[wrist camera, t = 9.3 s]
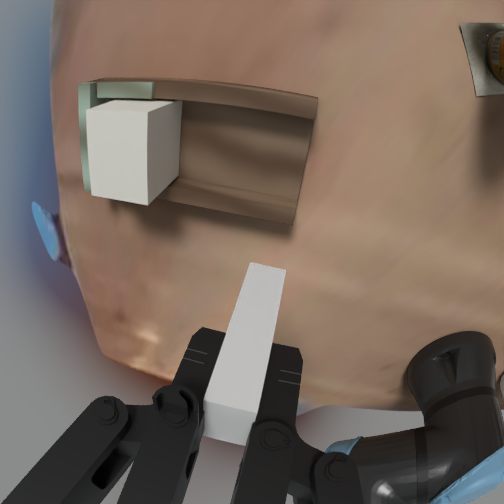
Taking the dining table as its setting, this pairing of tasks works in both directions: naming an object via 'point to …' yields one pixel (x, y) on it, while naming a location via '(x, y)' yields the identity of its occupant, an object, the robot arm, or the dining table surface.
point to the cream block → (133, 147)
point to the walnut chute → (224, 142)
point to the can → (502, 385)
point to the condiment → (485, 56)
